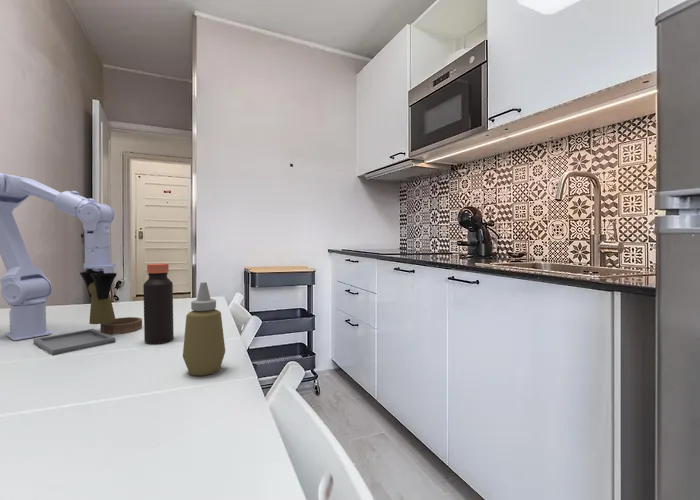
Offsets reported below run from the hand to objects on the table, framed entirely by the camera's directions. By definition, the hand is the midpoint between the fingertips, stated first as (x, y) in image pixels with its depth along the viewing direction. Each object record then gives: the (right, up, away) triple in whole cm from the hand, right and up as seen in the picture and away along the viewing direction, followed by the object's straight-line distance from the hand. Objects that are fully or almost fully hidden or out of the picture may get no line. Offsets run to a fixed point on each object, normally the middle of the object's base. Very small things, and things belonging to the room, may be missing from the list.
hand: (98, 298), depth 101 cm
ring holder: (+2, -10, +7) cm, 12 cm away
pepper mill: (0, -7, +1) cm, 7 cm away
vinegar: (+19, -11, -4) cm, 22 cm away
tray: (-2, -11, -6) cm, 12 cm away
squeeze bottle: (+39, -12, -25) cm, 48 cm away
